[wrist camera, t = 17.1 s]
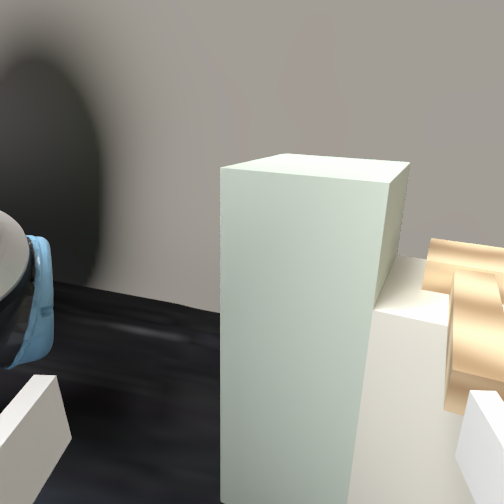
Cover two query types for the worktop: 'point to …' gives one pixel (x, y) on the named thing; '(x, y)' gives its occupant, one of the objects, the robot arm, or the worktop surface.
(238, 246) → the tall pale green block
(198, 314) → the worktop surface
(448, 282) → the t-shaped wooden block
